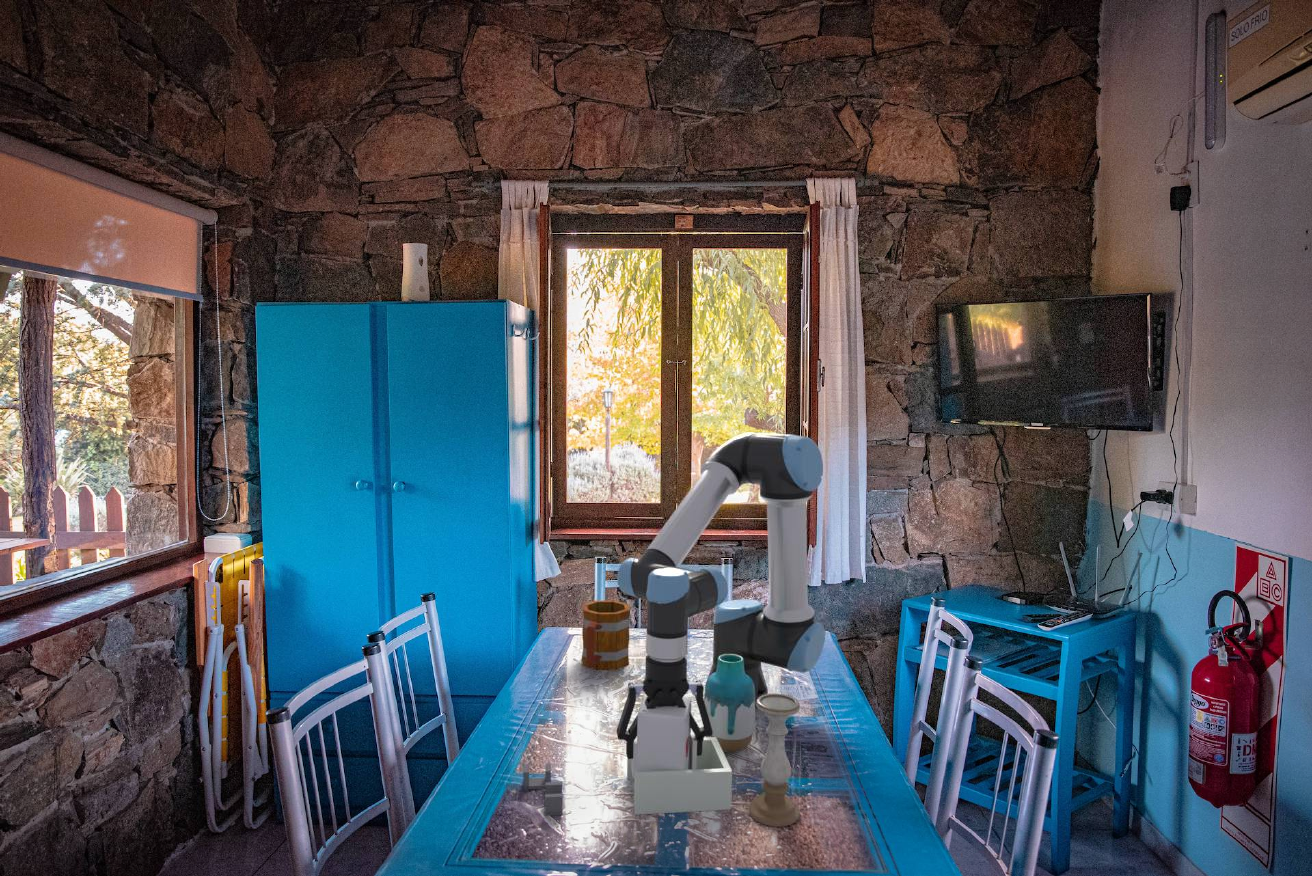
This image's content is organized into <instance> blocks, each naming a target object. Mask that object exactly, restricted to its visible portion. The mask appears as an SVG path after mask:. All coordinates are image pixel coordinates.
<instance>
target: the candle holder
mask: <svg viewBox="0 0 1312 876" xmlns="http://www.w3.org/2000/svg"><path fill="white" fill-rule="evenodd" d="M756 706H757V707H756V708H757V709H758V710H760V712H763V713H764V714H765V716H766V718H768V720H769V724H768V726H767V727H765V728H766V729H765V732H766V733H767V734H768V742H767V743H768V746H767V750H766V751H765V754H764V756H763V759H762V760H761V763H760V766H759V772H760V775H761V778H762V779H763V780H762V781H761V784H760V785H761V788H762V789H763V791H764V792H763V793H761V794H759V795H757V796H756V797H755V798H753V799H752V800H751V801H750V803H749V807H748V809H749V814H750V816H751V817H752V818H753V820H755V821H756V822H758V823H760V824H762V825H765V826H768V827H776V828H777V827H778V828H783V827H784V828H785V827H788V825H789V826H791V825H792V826H793V825H794V824H795V823H797V821H799V818H800V807H799V806H798V805H797V803H795V802H794V801H793V800H792V799H791V798H790V797H789V796H788V795H786V793H787V792H788V791H789V789H790V786H789V784H788V781H789V779H790V778H791V775H792V766H791V763H790V761H789V758H788V756H787V751H786V747H785V745H786V743H785V740H786V739H785V738H786V735H788V733H789V730H788V728H787V726H786V721H787V720H788V719H789V718H790V716H793V715H796V714H797V713H799V712H800V710H801V704H800V702H799V700H798V699H797V698H795V697H793V696H791V695H787V694H783V693H768V694H765V695H762V696H760V697H758V699H757V701H756ZM793 823H794V824H793Z"/></svg>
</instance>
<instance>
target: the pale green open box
mask: <svg viewBox="0 0 1312 876" xmlns="http://www.w3.org/2000/svg"><path fill="white" fill-rule="evenodd" d="M626 760H627V761H626V762H627V763H626V777H627V778H626V779H627V780H634V785H633V786H634V787H633V789H634V791H633V793H634V794H633V814H634V816H635V815H636V816H637V815H653V814H654V815H655V814H672V813H689V812H706V811H708V812H709V811H711V812H712V811H724V810H726V811H727V810H728V811H729V810H731V809H732V791H733V790H732V788H733V783H732V782H733V770H732V768H731V765H730V764H729V761H728V759H727V757H726V755H725V752H723V751H722V749H721V746H720V744H719V742H718V740H717V738H716V737H704V740H703V742H702V755H701V756H697V763H696V770H677V771H656V772H635V778H633V776H632V759H628V758H626Z"/></svg>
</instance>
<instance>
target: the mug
mask: <svg viewBox="0 0 1312 876" xmlns="http://www.w3.org/2000/svg"><path fill="white" fill-rule="evenodd" d="M582 611H583V612H582V615H583V617H582V618H583V619H582V621H583V622H582V632H581V634H582V654H581V666H583V667H585V668H588V669H591V670H594V671H597V672H598V671H617V670H620V669H623V668H624V667H627V666H629V665H630V659H629V647H630V646H629V645H630V638H631V637H630V615H631V614H630V613H631V608H630V604H629V603H625V602H622V601H619V600H594V601H590V602H587V603H584V604H582Z"/></svg>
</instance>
